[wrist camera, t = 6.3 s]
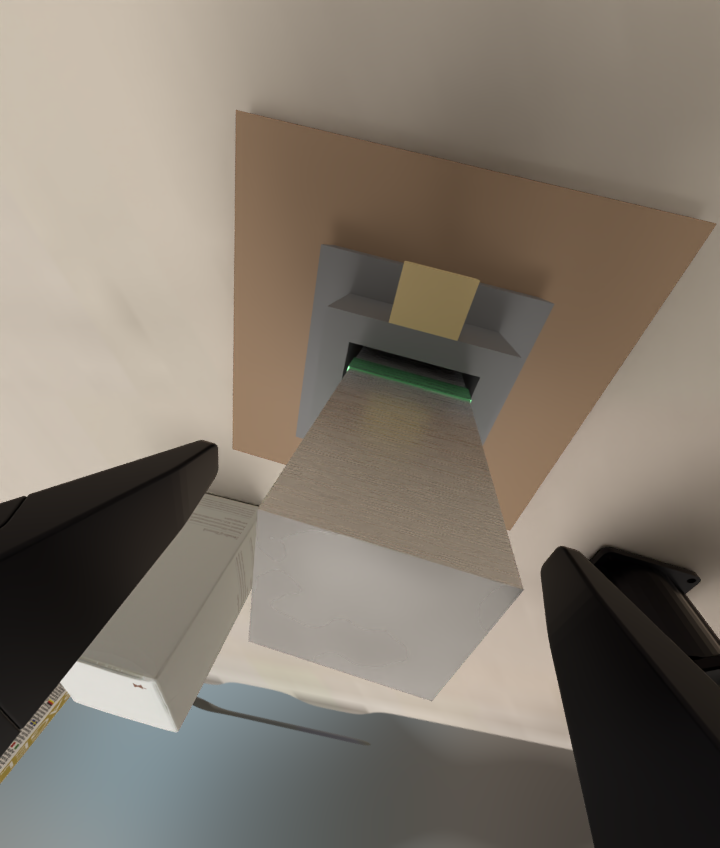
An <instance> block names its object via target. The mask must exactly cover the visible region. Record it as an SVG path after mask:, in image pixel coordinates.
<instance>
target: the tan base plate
mask: <svg viewBox="0 0 720 848" xmlns="http://www.w3.org/2000/svg"><path fill="white" fill-rule="evenodd" d="M715 226H716V223H712V222H708V221H703V220H699V219H695V218H691V217H686V216H682V215H678V214H674V213H670V212H665V211H661V210H657V209H653V208H648V207H644V206H640V205H636V204H631V203H627V202H623V201H619V200H615V199H610V198H606V197H602V196H598V195H593V194H589V193H585V192H581V191H576V190H572V189H568V188H564V187H560V186H555V185H551V184H547V183H543V182H538V181H534V180H530V179H526V178H521V177H517V176H513V175H509V174H505V173H500V172H496V171H492V170H488V169H483V168H479V167H475V166H471V165H467V164H462V163H458V162H454V161H450V160H445V159H441V158H437V157H433V156H428V155H424V154H420V153H416V152H412V151H407V150H403V149H399V148H395V147H390V146H386V145H382V144H378V143H373V142H369V141H365V140H361V139H357V138H352V137H348V136H344V135H340V134H335V133H331V132H327V131H323V130H319V129H314V128H310V127H306V126H302V125H297V124H293V123H289V122H285V121H280V120H276V119H272V118H268V117H264V116H259V115H255V114H251V113H247V112H242V111H238V110H236V153H235V253H234V353H233V449H234V450H238V451H241V452H244V453H248V454H251V455H255V456H258V457H261V458H265V459H268V460H272V461H275V462H278V463H282V464H285V465H287V463H288V462H289V460H290V458H291V457H292V455H293V454H294V452H295V451H296V449H297V448H298V446H299V445H300V443H301V442H302V440H303V438H304V437H305V435H306V434H307V432H308V431H309V429H310V428H311V426H312V425H313V423H314V422H315V420H316V419H317V417H318V415H319V414H320V412H321V411H322V409H323V408H324V406H325V405H326V403H327V402H328V400H329V399H330V397H331V395H332V394H333V392H334V391H335V389H336V388H337V386H338V385H339V383H340V382H341V380H342V379H343V377H344V375H345V374H346V372H347V369H348V366H349V364H350V363H351V361H352V360H353V358H354V357H355V358H356V357H357V355H358V354H359V352H360V351H361V349H362V348H363V346H366V347H370V348H374V349H377V350H381V351H385V352H388V353H392V354H396V355H400V356H403V357H407V358H411V359H414V360H418V361H422V362H425V363H429V364H433V365H436V366H440V367H444V368H448V369H451V370H455V371H459V372H461V373H462V376H463V380H464V383H465V387H466V388H468V389H469V393H470V396H471V399H472V401H471V403H470V404H471V408H472V411H473V415H474V418H475V422H476V425H477V429H478V432H479V436H480V439H481V443H482V446H483V450H484V453H485V457H486V460H487V464H488V467H489V471H490V474H491V477H492V481H493V484H494V488H495V491H496V495H497V498H498V502H499V505H500V509H501V512H502V516H503V519H504V523H505V526H506V530H509V531H510V530H511V528H512V527H513V525H514V524H515V522H516V521H517V519H518V518H519V516H520V515H521V513H522V512H523V510H524V509H525V508H526V506H527V505H528V503H529V502H530V500H531V499H532V497H533V496H534V494H535V493H536V491H537V490H538V488H539V487H540V485H541V484H542V482H543V481H544V479H545V478H546V476H547V475H548V473H549V472H550V470H551V469H552V467H553V466H554V465H555V463H556V462H557V460H558V459H559V457H560V456H561V454H562V453H563V451H564V450H565V448H566V447H567V445H568V444H569V442H570V441H571V439H572V438H573V436H574V435H575V433H576V432H577V430H578V429H579V427H580V426H581V424H582V423H583V421H584V420H585V419H586V417H587V416H588V414H589V413H590V411H591V410H592V408H593V407H594V405H595V404H596V402H597V401H598V399H599V398H600V396H601V395H602V393H603V392H604V390H605V389H606V387H607V386H608V384H609V383H610V381H611V380H612V378H613V377H614V375H615V374H616V373H617V371H618V370H619V368H620V367H621V365H622V364H623V362H624V361H625V359H626V358H627V356H628V355H629V353H630V352H631V350H632V349H633V347H634V346H635V344H636V343H637V341H638V340H639V338H640V337H641V335H642V334H643V332H644V331H645V330H646V328H647V327H648V325H649V324H650V322H651V321H652V319H653V318H654V316H655V315H656V313H657V312H658V310H659V309H660V307H661V306H662V304H663V303H664V301H665V300H666V298H667V297H668V295H669V294H670V292H671V291H672V289H673V288H674V286H675V285H676V284H677V282H678V281H679V279H680V278H681V276H682V275H683V273H684V272H685V270H686V269H687V267H688V266H689V264H690V263H691V261H692V260H693V258H694V257H695V255H696V254H697V252H698V251H699V249H700V248H701V246H702V245H703V243H704V242H705V241H706V239H707V238H708V236H709V235H710V233H711V232H712V230H713V229H714V227H715Z"/></svg>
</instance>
